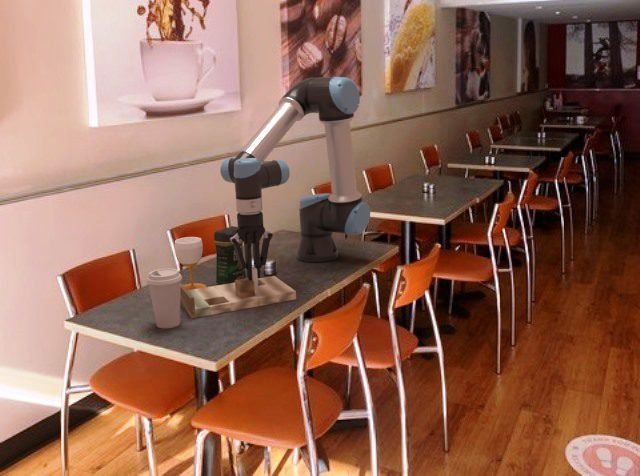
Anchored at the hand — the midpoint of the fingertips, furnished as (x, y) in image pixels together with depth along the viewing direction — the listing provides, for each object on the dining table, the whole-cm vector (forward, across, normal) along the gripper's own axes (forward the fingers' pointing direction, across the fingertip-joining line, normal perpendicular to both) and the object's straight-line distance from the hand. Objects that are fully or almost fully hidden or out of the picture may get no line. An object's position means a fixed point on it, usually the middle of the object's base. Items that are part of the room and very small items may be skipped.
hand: (254, 288), depth 204 cm
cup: (+4, -13, +23) cm, 27 cm away
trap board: (+4, -4, +5) cm, 8 cm away
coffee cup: (+4, -28, -5) cm, 28 cm away
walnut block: (+2, -3, 0) cm, 3 cm away
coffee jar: (+4, 0, +22) cm, 22 cm away
